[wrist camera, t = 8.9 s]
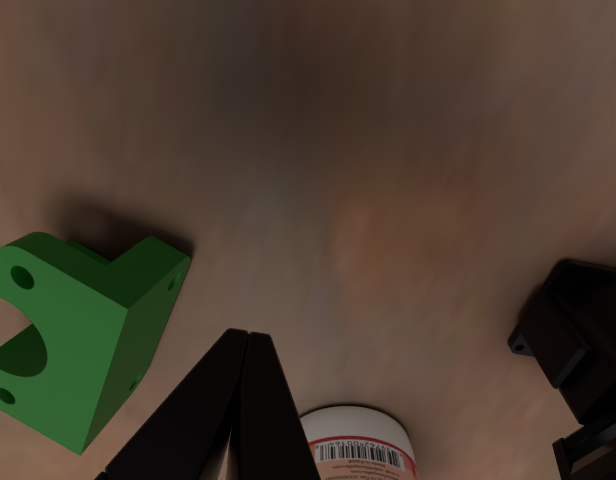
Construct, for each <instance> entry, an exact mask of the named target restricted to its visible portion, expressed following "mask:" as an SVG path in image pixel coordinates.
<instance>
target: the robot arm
mask: <svg viewBox="0 0 616 480" xmlns="http://www.w3.org/2000/svg"><path fill="white" fill-rule="evenodd" d="M569 268H571V269H570V270H568V271H566V270H567V269H569ZM248 336H249V337H248ZM517 345H518V346H517ZM508 346H509V348H510V349H511V351H512V352H513V353H515V354H521V355H527V356H533V357H535V358H536V360H537V362H538V363H539V365H540V367H541V369H542V370H543V372H544V374H545V375H546V377H547V379H548V381H549V382H550V384H551V386H552V387H553V388H554V389H559V391H560V393H561V394H562V396H563V398H564V399H565V401H566V403H567V404H568V406H569V408H570V409H571V411H572V413H573V414H574V416H575V418H576V419H577V421H578V423H579V424H581V425H584V426H583V427H581V428H580V429H578V430H577V431H575V432H574V433H572V434H570V435H569V436H567V437H566V438H560V439H559V440H557V441H556V442H554V443H553V444H552V446H553V450H554V454H555V457H556V461H557V465H558V469H559V473H560V477H561V480H616V268H612V267H606V266H601V265H596V264H591V263H585V262H580V261H575V260H564V261H562V262H560V263H559V264H558V265H557V267H556V268H555V270H554V271H553V273H552V274H551V276H550V278H549V279H548V281H547V282H546V284H545V285H544V287H543V289H542V290H541V292H540V293H539V295H538V296H537V298H536V300H535V301H534V303H533V304H532V306H531V307H530V309H529V311H528V312H527V314H526V315H525V317H524V318H523V320H522V322H521V323H520V325H519V326H518V328H517V329H516V331H515V332H514V334H513V336H512V337H511V339H510V340H509V342H508ZM231 428H232V429H231ZM230 433H231V435H230ZM229 438H230V441H229ZM228 442H229V449H228V460H227V474H226V480H321V477H320V475H319V472H318V469H317V466H316V463H315V460H314V457H313V455H312V452H311V449H310V446H309V443H308V440H307V438H306V435H305V432H304V429H303V426H302V423H301V420H300V418H299V415H298V412H297V409H296V406H295V403H294V400H293V398H292V395H291V392H290V389H289V386H288V383H287V381H286V378H285V375H284V372H283V369H282V366H281V363H280V361H279V358H278V355H277V352H276V349H275V346H274V343H273V341H272V338H271V336H270V335H269V334H265V333H259V332H250V334H249V333H248V331H246V330H240V329H234V328H229V329H227V330H226V331H225V332H224V333H223V335H222V336H221V337H220V338H219V339H218V340H217V341H216V343H215V344H214V345H213V346H212V347H211V348H210V349H209V350H208V352H207V353H206V354H205V355H204V356H203V357H202V358H201V360H200V361H199V362H198V363H197V364H196V365H195V366H194V367H193V369H192V370H191V371H190V372H189V373H188V374H187V375H186V377H185V378H184V379H183V380H182V381H181V382H180V383H179V384H178V386H177V387H176V388H175V389H174V390H173V391H172V392H171V394H170V395H169V396H168V397H167V398H166V399H165V400H164V401H163V403H162V404H161V405H160V406H159V407H158V408H157V409H156V410H155V412H154V413H153V414H152V415H151V416H150V417H149V418H148V420H147V421H146V422H145V423H144V424H143V425H142V426H141V427H140V429H139V430H138V431H137V432H136V433H135V434H134V435H133V437H132V438H131V439H130V440H129V441H128V442H127V443H126V444H125V446H124V447H123V448H122V449H121V450H120V451H119V452H118V454H117V455H116V456H115V457H114V458H113V459H112V460H111V461H110V463H109V464H108V465H107V466H106V467H105V472H101V473H100V474H99V475H98V476H97V477H96V478H95V479H94V480H217V479H218V476H219V473H220V470H221V466H222V463H223V460H224V457H225V453H226V450H227V446H228Z"/></svg>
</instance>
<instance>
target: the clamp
mask: <svg viewBox="0 0 616 480" xmlns="http://www.w3.org/2000/svg"><path fill="white" fill-rule="evenodd" d="M190 261H191V258H190V257H189V256H187V255H185V254H184V253H182V252H180V251H178V250H177V249H175V248H173V247H171V246H170V245H168V244H166V243H164V242H163V241H161V240H159V239H157V238H156V237H154V236H149V237H147V238H145V239H144V240H142V241H141V242H139V243H138V244H137V245H135V246H134V247H132V248H131V249H129V250H128V251H127V252H125V253H124V254H122V255H121V256H119V257H118V258H117V259H115V260H114V261H112V262H110V261H109V260H107V259H105V258H103V257H102V256H100V255H98V254H96V253H95V252H93V251H91V250H89V249H88V248H86V247H84V246H82V245H81V244H79V243H76V242H74V241H71V240H69V241H68V242H66V243H64V242H63V241H61V240H59V239H57V238H56V237H54V236H52V235H50V234H47V233H44V232H33V233H30V234H28V235H26V236H24V237H22V238H20V239H17V240H15V241H13V242H11V243H9V244H7V245H5V246H3V247H1V248H0V298H2V299H4V300H6V301H8V302H10V303H11V304H13V305H14V306H15V307H17V308H18V309H19V310H20V311H22V312H23V313H24V314H25V315H26V316H27V317H28V318H29V319H30V320H31V322H32V323H33V324H31V325H30V326H29V327H27V328H26V329H24V330H23V331H22V332H20V333H19V334H17V335H16V336H15V337H13V338H12V339H10V340H9V341H8V342H6V343H5V344H3V345H2V346H1V347H0V410H1V411H3V412H5V413H6V414H8V415H10V416H12V417H13V418H15V419H17V420H19V421H20V422H22V423H24V424H26V425H27V426H29V427H31V428H33V429H34V430H36V431H38V432H40V433H41V434H43V435H45V436H47V437H48V438H50V439H52V440H54V441H55V442H57V443H59V444H60V445H62V446H64V447H66V448H67V449H69V450H71V451H73V452H74V453H76V454H78V455H80V456H81V454H82V453H83V452H84V451H85V450H86V448H87V447H88V446H89V445H90V444H91V442H92V441H93V440H94V439H95V437H96V436H97V435H98V434H99V433H100V431H101V430H102V429H103V428H104V427H105V425H106V424H107V423H108V422H109V421H110V419H111V418H112V417H113V416H114V415H115V413H116V412H117V411H118V410H119V409H120V407H121V406H122V405H123V404H124V403H125V401H126V400H127V399H128V398H129V396H130V395H131V394H132V393H133V391H134V390H135V389H136V387H137V386H138V385H139V383H140V382H141V380H142V378H143V377H144V375H145V373H146V371H147V369H148V367H149V365H150V362H151V360H152V357H153V355H154V352H155V350H156V347H157V345H158V342H159V340H160V337H161V335H162V332H163V330H164V327H165V325H166V323H167V320H168V318H169V315H170V313H171V310H172V308H173V305H174V303H175V300H176V298H177V295H178V293H179V290H180V288H181V285H182V283H183V280H184V278H185V275H186V273H187V270H188V268H189V265H190Z"/></svg>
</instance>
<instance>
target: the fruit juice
mask: <svg viewBox="0 0 616 480" xmlns="http://www.w3.org/2000/svg"><path fill="white" fill-rule="evenodd" d="M300 420H301V423H302V426H303V429H304V432H305V435H306V438H307V440H308V443H309V446H310V449H311V452H312V455H313V457H314V460H315V463H316V466H317V469H318V472H319V475H320V477H321V480H419V477H418V472H417V467H416V463H415V458H414V453H413V449H412V446H411V443H410V440H409V438H408V436H407V434H406V432H405V431H404V429H403V428H402V427H401V425H400V424H399V423H398V422H396V421H395V420H394V419H393V418H391V417H389V416H388V415H386V414H384V413H381V412H379V411H376V410H372V409H369V408H364V407H356V406H337V407H329V408H324V409H320V410H317V411H314V412H312V413H309V414H307V415H305V416H303V417H301V418H300Z"/></svg>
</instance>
